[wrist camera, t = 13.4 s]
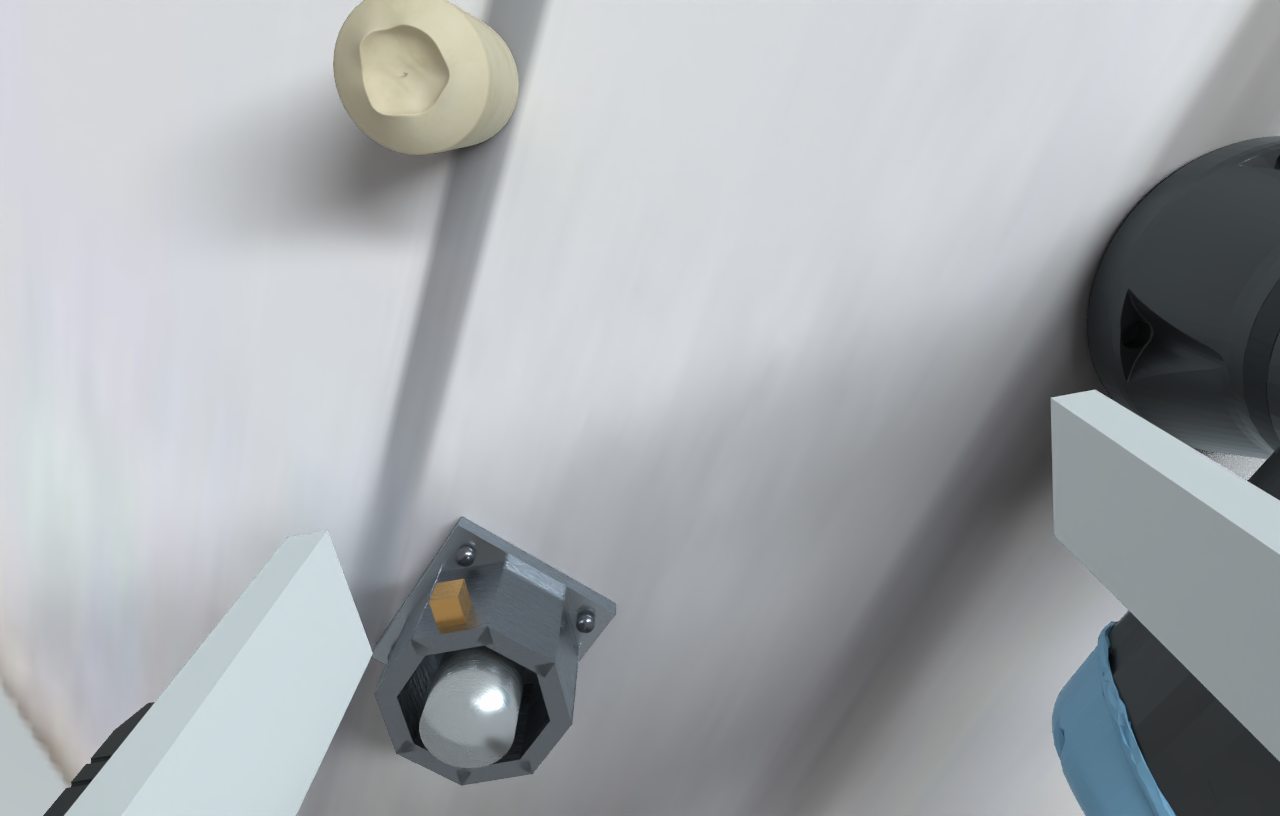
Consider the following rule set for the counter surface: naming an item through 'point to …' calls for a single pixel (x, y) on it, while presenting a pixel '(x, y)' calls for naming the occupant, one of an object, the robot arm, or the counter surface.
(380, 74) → the candle
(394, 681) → the collar
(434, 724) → the bolted post base
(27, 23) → the counter surface
